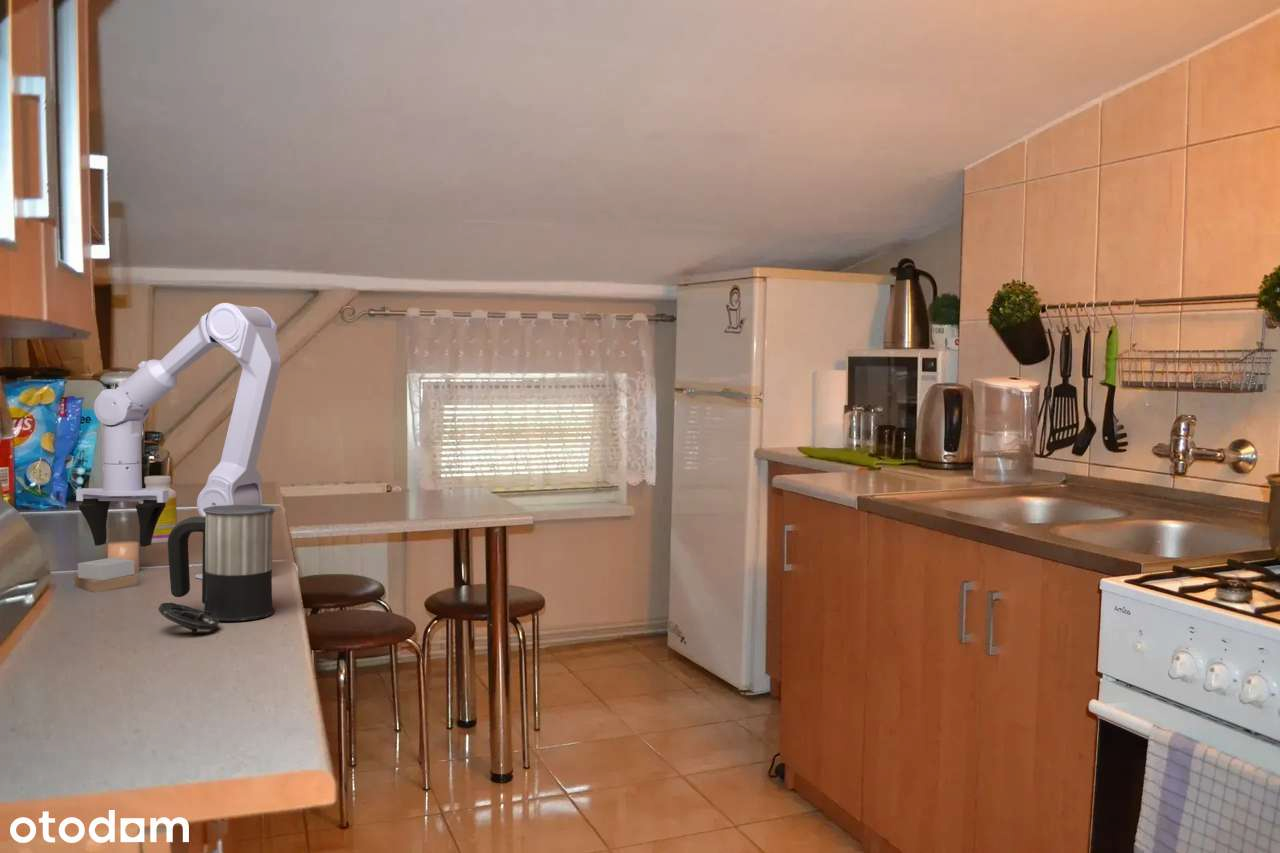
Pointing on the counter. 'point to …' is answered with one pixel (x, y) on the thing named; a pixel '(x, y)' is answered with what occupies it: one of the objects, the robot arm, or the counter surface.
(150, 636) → the counter surface
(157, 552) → the counter surface
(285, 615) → the counter surface
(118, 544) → the terracotta cylinder
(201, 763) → the counter surface
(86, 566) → the slab upper
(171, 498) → the supplement bottle
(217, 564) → the milk frother
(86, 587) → the slab lower
